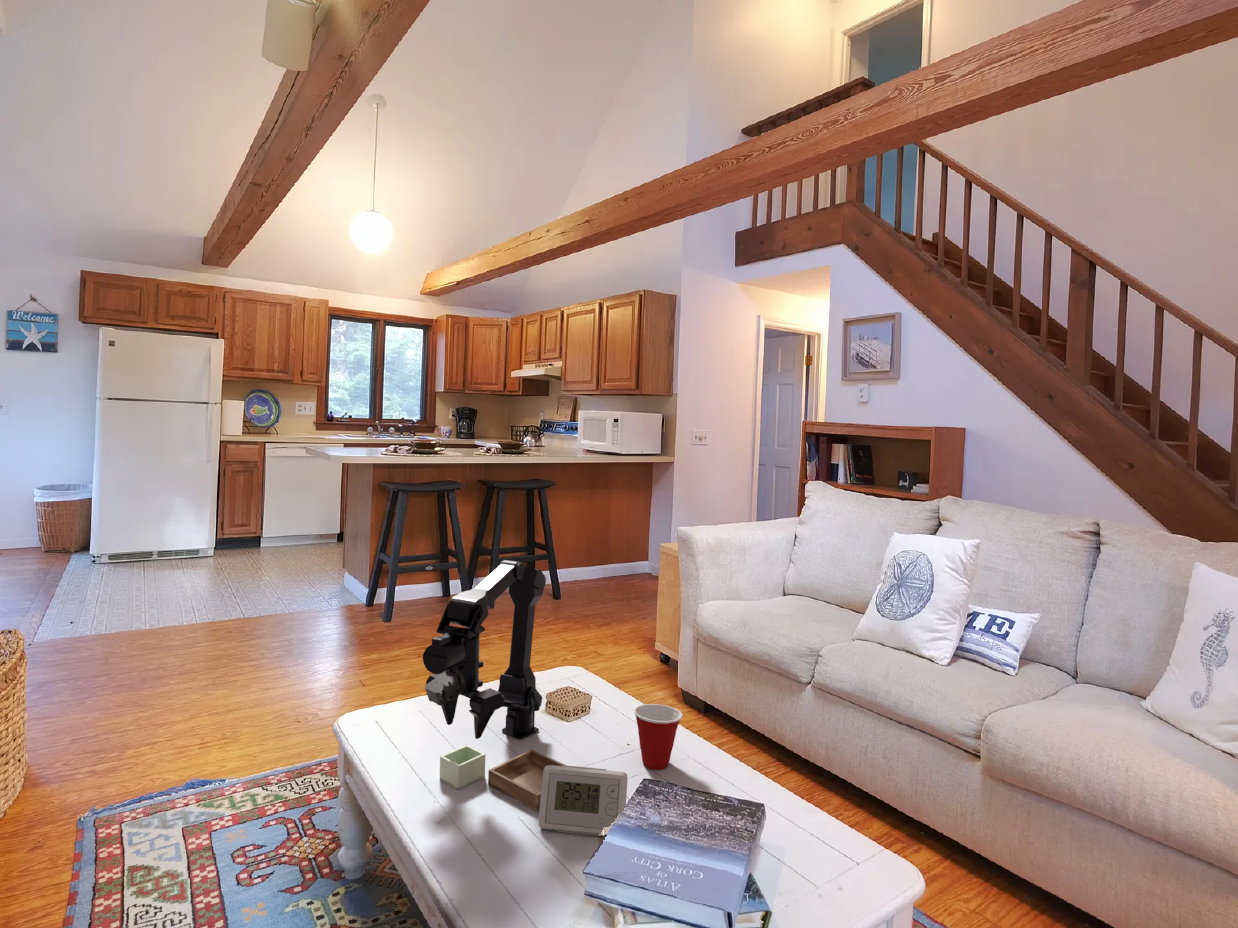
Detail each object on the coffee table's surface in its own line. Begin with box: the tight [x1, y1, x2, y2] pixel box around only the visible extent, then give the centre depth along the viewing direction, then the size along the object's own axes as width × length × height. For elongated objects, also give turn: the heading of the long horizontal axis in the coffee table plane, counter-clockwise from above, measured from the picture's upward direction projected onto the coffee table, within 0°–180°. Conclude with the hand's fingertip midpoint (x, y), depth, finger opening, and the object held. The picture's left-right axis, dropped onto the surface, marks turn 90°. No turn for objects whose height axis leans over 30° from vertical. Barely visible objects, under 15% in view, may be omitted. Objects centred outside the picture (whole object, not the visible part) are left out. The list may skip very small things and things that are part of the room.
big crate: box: [487, 749, 567, 812], centre depth 143 cm, size 12×14×3 cm
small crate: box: [439, 744, 486, 791], centre depth 145 cm, size 7×6×5 cm
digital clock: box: [538, 765, 628, 837], centre depth 130 cm, size 16×9×11 cm, turn 72°
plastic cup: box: [633, 703, 684, 771], centre depth 155 cm, size 11×11×12 cm
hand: (463, 730), depth 145 cm, fingers open, 9 cm apart
